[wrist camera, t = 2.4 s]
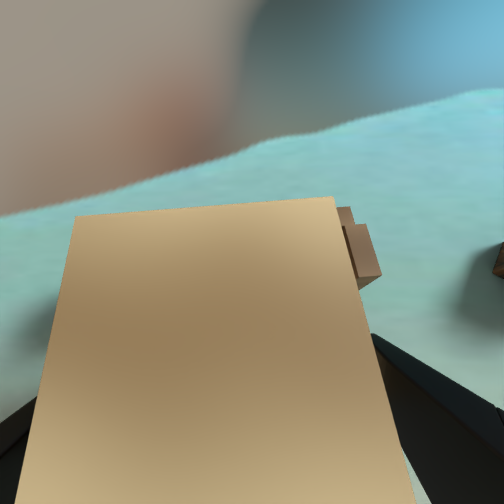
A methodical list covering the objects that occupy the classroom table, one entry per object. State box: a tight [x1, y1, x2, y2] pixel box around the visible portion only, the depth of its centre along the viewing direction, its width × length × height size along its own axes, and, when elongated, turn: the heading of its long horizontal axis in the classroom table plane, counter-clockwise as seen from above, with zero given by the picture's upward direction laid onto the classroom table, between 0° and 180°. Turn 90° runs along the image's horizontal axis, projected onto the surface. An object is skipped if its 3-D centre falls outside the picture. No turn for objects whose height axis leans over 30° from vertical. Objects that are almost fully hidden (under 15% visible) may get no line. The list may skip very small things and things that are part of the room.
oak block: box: [15, 196, 416, 504], centre depth 10 cm, size 5×5×13 cm
